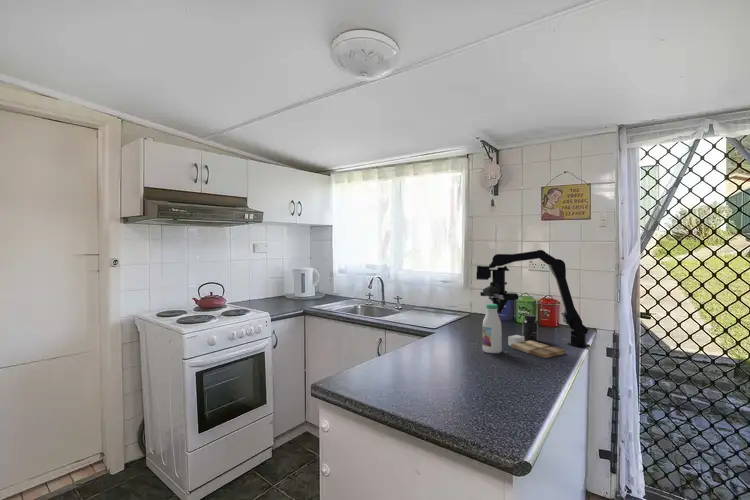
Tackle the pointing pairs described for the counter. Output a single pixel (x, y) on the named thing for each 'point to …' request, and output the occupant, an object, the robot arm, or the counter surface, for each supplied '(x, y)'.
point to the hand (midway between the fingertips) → (498, 312)
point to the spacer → (515, 339)
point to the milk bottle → (492, 330)
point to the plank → (528, 346)
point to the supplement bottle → (530, 328)
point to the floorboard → (548, 352)
